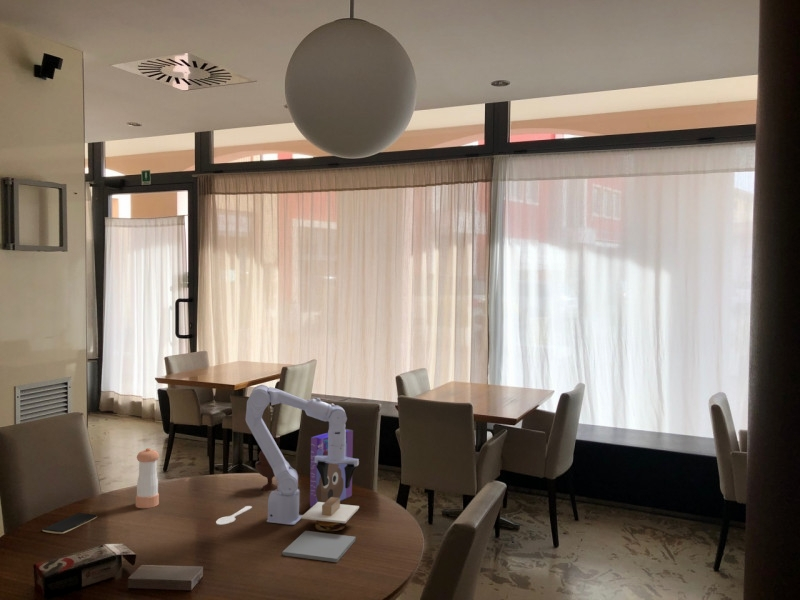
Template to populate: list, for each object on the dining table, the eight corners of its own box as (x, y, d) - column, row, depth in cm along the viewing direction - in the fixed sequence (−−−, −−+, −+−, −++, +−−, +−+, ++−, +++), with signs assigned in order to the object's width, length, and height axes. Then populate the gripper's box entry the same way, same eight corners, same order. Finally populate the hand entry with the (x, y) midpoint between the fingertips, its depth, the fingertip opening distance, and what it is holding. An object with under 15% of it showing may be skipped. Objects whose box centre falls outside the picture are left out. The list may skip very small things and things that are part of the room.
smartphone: (98, 514, 198) (61, 531, 184) (98, 518, 198) (61, 535, 184) (78, 512, 200) (41, 529, 186) (78, 516, 200) (41, 532, 186)
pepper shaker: (163, 503, 212) (164, 447, 212) (144, 509, 206) (145, 452, 205) (149, 499, 216) (150, 444, 216) (130, 505, 210) (131, 448, 209)
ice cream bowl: (278, 493, 225) (278, 452, 225) (249, 491, 227) (250, 450, 227) (289, 485, 235) (289, 445, 235) (261, 482, 237) (262, 443, 237)
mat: (282, 555, 172) (282, 551, 172) (305, 533, 188) (305, 530, 188) (336, 562, 168) (337, 558, 168) (355, 540, 184) (355, 536, 184)
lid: (301, 518, 188) (301, 506, 188) (317, 503, 202) (318, 492, 202) (345, 523, 185) (345, 511, 185) (359, 507, 199) (359, 496, 199)
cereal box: (320, 510, 209) (322, 438, 209) (309, 507, 211) (311, 436, 211) (351, 496, 224) (352, 429, 223) (341, 493, 226) (342, 428, 226)
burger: (309, 525, 195) (310, 510, 195) (336, 520, 200) (336, 505, 200) (324, 536, 187) (325, 520, 187) (351, 530, 192) (351, 515, 192)
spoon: (257, 508, 210) (257, 506, 210) (225, 526, 193) (225, 524, 193) (243, 506, 212) (243, 504, 212) (211, 524, 195) (211, 522, 195)
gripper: (311, 445, 199) (310, 487, 199) (354, 448, 195) (353, 492, 195) (319, 440, 206) (318, 481, 206) (361, 443, 202) (360, 485, 202)
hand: (336, 486), depth 201 cm, fingers open, 7 cm apart
